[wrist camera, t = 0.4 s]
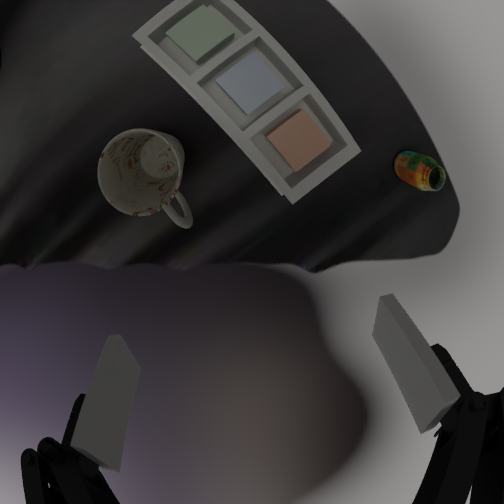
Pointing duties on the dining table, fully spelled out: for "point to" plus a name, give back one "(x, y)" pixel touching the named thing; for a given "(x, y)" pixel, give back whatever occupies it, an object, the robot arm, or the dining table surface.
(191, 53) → the key
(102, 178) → the mug
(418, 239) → the dining table surface
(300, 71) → the three-slot tray
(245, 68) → the key
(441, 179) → the jar
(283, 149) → the key
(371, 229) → the dining table surface
